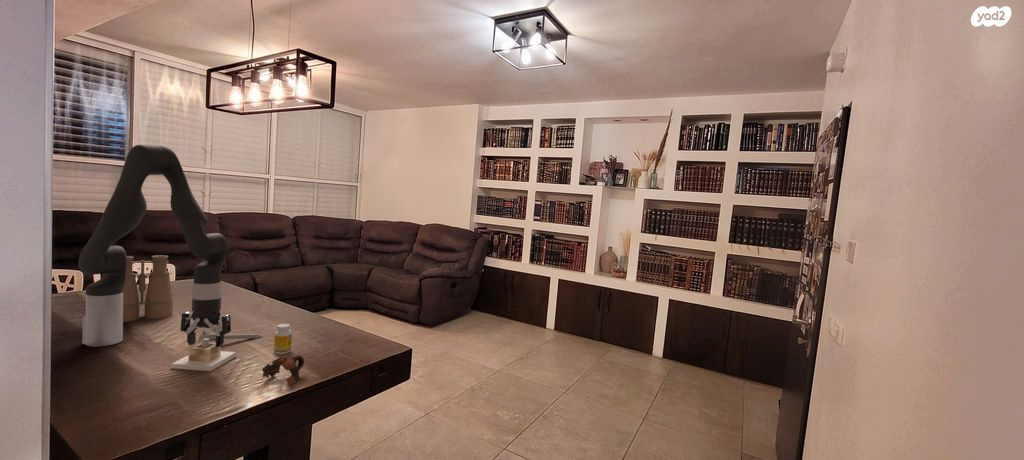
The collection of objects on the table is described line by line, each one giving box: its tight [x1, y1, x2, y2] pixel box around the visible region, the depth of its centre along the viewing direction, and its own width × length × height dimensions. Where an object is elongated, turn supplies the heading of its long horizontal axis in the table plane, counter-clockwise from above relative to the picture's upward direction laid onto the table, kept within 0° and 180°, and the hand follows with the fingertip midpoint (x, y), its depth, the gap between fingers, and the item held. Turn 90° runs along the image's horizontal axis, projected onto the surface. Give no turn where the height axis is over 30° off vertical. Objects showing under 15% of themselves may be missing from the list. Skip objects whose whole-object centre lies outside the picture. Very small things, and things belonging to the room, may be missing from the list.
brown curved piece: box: [261, 355, 305, 386], centre depth 129 cm, size 12×10×8 cm
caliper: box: [197, 330, 264, 344], centre depth 153 cm, size 20×1×6 cm, turn 143°
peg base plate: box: [170, 338, 237, 372], centre depth 135 cm, size 12×12×8 cm
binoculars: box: [123, 254, 175, 323], centre depth 171 cm, size 21×10×25 cm, turn 134°
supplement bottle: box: [273, 323, 293, 355], centre depth 149 cm, size 5×5×10 cm
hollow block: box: [188, 341, 222, 362], centre depth 135 cm, size 6×6×4 cm
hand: (205, 345), depth 135 cm, fingers open, 8 cm apart
